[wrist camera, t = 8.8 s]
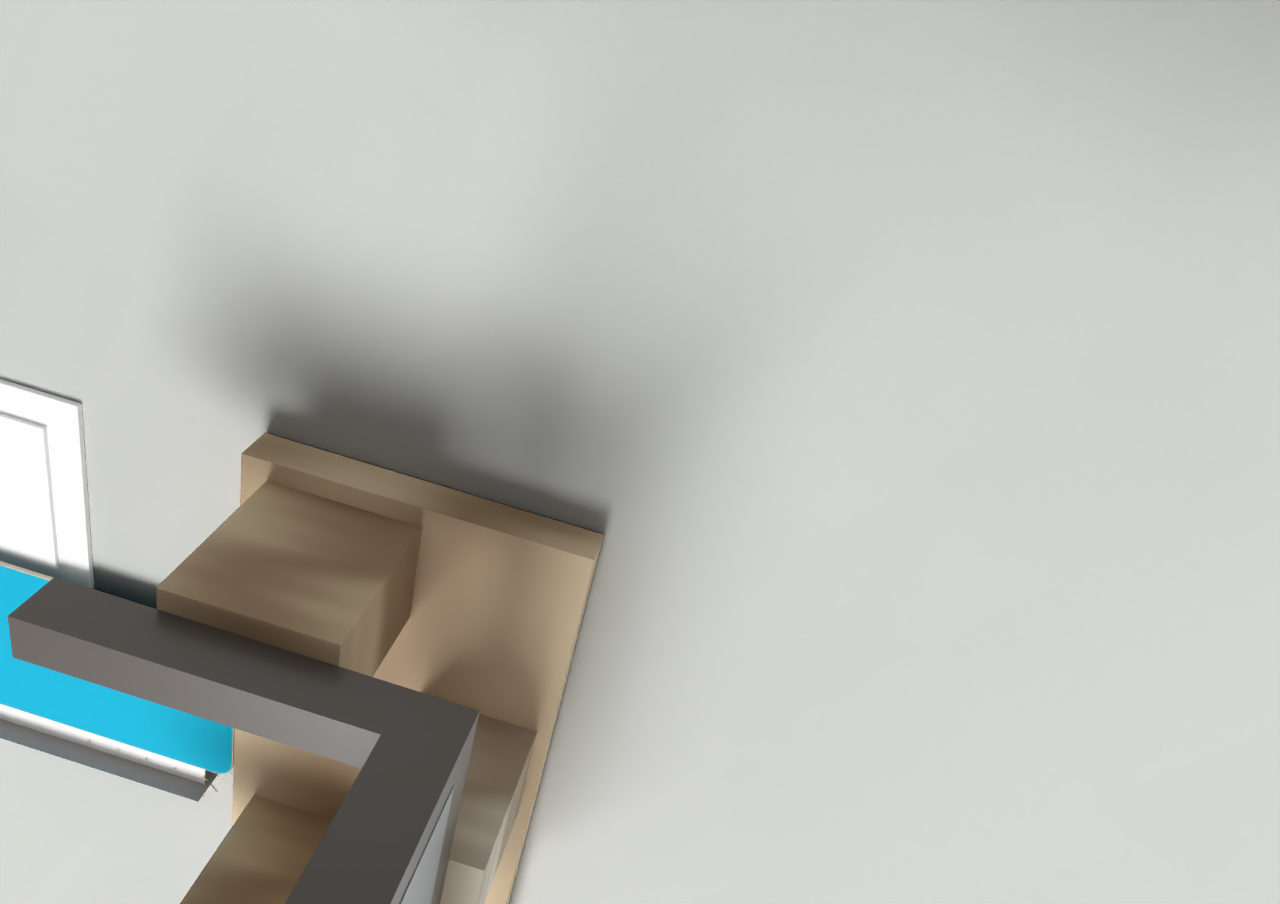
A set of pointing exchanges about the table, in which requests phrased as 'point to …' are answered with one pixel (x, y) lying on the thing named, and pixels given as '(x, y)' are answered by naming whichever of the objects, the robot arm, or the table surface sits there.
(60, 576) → the blue flat piece
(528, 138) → the table surface
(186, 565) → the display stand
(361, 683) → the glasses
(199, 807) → the table surface
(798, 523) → the table surface
